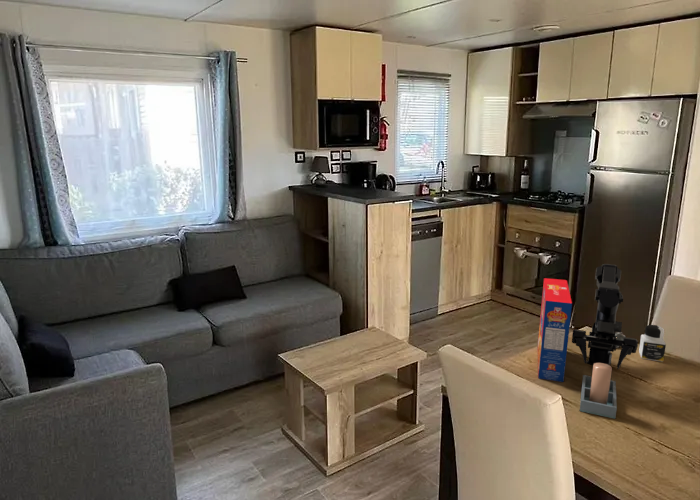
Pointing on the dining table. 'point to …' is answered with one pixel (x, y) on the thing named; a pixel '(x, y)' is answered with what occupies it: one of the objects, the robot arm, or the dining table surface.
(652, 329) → the medicine bottle
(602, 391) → the peach round cylinder
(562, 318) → the cereal box
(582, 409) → the divided tray
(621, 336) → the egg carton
